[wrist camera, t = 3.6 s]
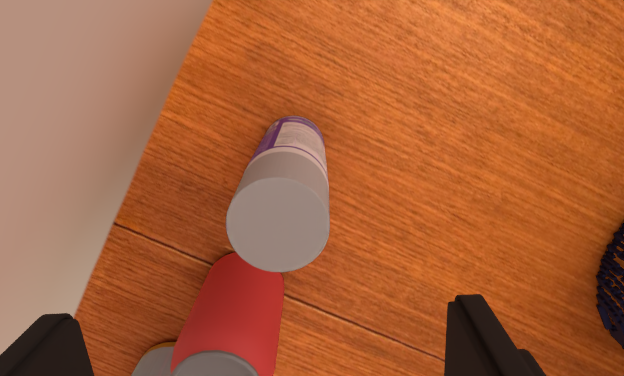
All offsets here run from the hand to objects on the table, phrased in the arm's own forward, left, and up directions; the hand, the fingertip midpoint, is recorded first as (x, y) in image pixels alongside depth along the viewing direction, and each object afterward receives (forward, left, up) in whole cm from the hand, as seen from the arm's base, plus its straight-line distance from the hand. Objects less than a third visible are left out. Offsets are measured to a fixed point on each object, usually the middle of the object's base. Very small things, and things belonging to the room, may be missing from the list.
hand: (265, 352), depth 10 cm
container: (0, 0, -23) cm, 23 cm away
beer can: (-5, -12, -23) cm, 26 cm away
